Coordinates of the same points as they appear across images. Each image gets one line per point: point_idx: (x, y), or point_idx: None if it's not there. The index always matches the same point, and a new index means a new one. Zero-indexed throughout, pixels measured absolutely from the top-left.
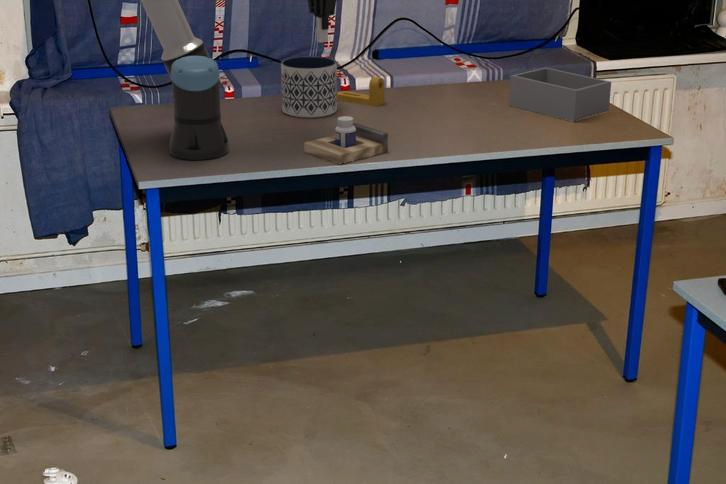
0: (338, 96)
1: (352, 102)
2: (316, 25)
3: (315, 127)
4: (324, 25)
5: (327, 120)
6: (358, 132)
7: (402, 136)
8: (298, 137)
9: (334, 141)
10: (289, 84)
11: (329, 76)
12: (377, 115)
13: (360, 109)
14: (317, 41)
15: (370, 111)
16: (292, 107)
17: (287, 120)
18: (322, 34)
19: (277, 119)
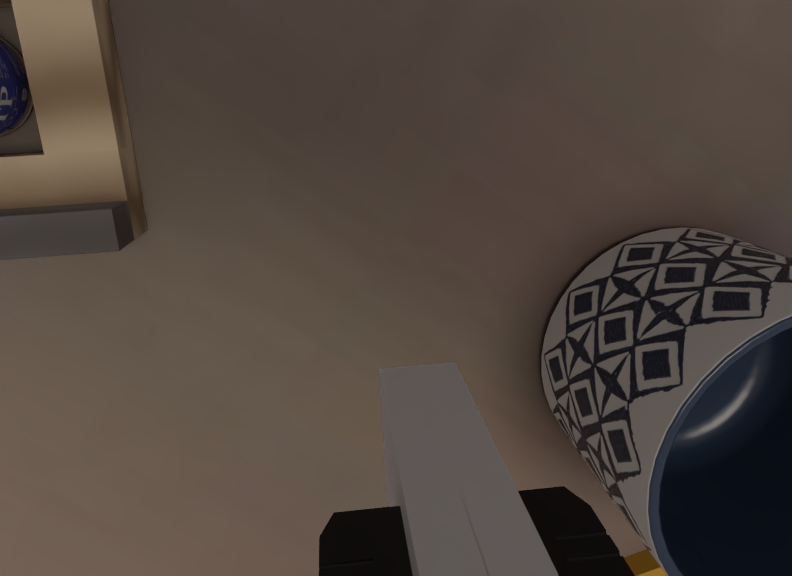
0: None
1: (632, 555)
2: (511, 493)
3: (432, 217)
4: (325, 573)
5: (489, 327)
6: (14, 211)
7: (75, 442)
8: (340, 44)
9: (25, 57)
10: (752, 268)
11: (618, 479)
12: None
13: None
14: (433, 365)
15: None
16: (661, 241)
17: (613, 179)
18: (391, 465)
19: (659, 150)
